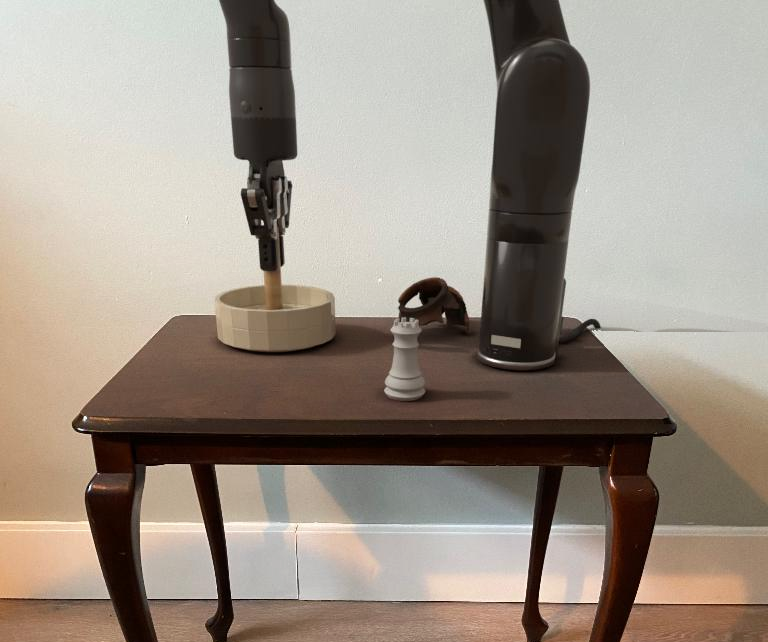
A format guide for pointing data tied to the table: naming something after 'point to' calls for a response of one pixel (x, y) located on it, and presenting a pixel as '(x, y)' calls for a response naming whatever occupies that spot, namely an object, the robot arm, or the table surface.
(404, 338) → the rook chess piece
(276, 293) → the muddler
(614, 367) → the table surface
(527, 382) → the table surface
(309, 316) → the bowl
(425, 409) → the table surface
